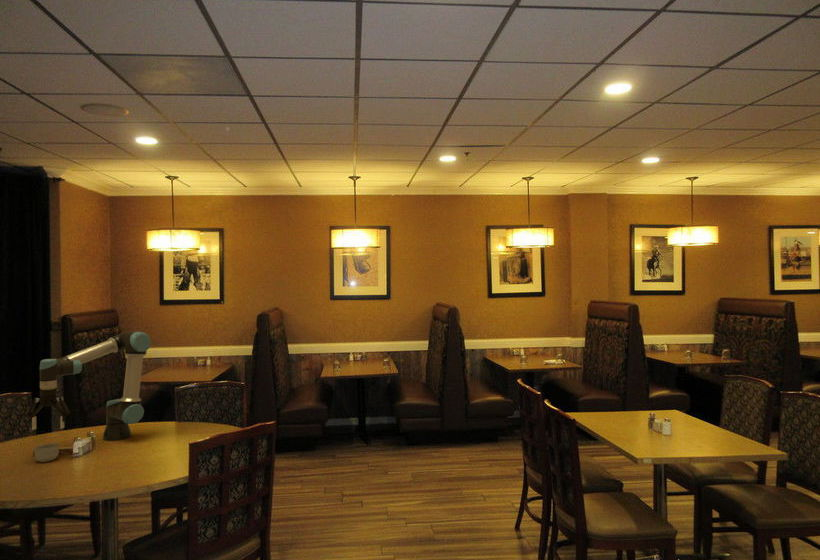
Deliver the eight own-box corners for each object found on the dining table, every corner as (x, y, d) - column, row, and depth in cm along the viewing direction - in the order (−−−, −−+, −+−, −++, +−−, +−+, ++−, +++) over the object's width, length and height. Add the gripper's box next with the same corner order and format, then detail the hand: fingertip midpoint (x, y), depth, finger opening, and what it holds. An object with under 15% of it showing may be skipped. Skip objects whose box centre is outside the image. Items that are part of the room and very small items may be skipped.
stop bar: (79, 452, 296) (79, 446, 296) (77, 454, 293) (77, 448, 294) (35, 454, 292) (35, 448, 293) (32, 456, 290) (32, 450, 290)
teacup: (46, 464, 276) (46, 448, 276) (28, 463, 278) (28, 447, 279) (68, 456, 290) (68, 441, 290) (51, 455, 292) (51, 440, 292)
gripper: (18, 390, 279) (18, 431, 279) (70, 388, 283) (70, 429, 283) (26, 388, 286) (26, 428, 286) (77, 386, 291) (77, 425, 290)
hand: (48, 428), depth 284 cm, fingers open, 13 cm apart
